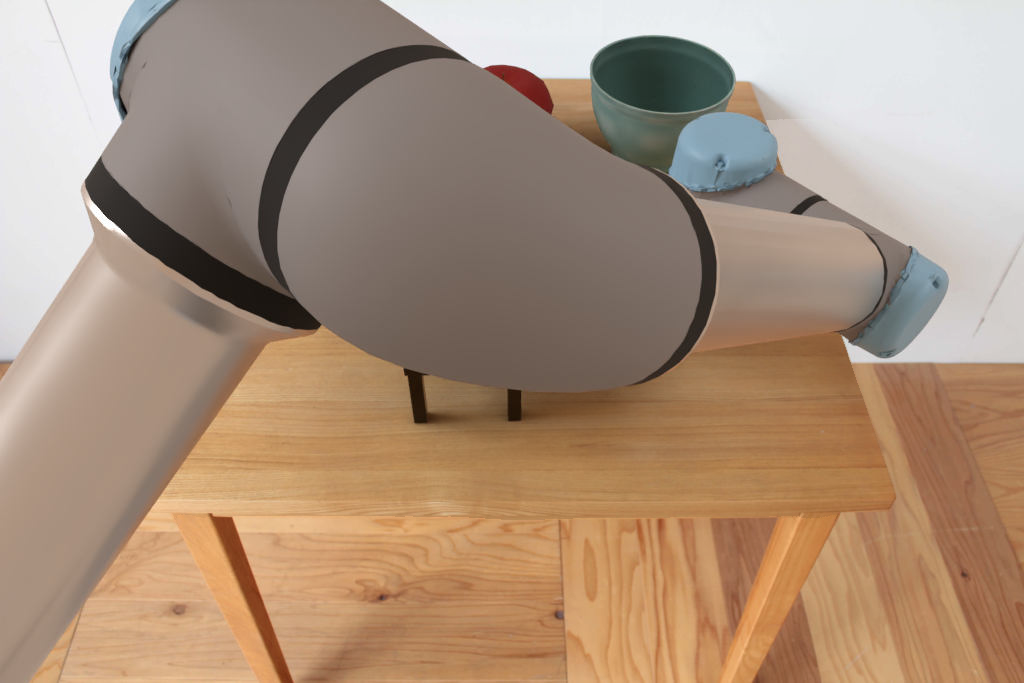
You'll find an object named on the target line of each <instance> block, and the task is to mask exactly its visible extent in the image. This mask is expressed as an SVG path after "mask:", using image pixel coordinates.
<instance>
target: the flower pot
mask: <svg viewBox="0 0 1024 683" xmlns="http://www.w3.org/2000/svg"><path fill="white" fill-rule="evenodd" d="M589 78H590V83H591V84H590V96H591V105H592V110H593V114H594V118H595V121H596V123H597V126H598V128H599V130H600V133H601V134H602V136H603V138H604V139H605V140H606V142H607V143H608V146H610V151H611V152H610V153H611V154H612V155H614V156H617V157H619V158H621V159H623V160H625V161H627V162H632V163H637V164H642V165H646V166H649V167H652V168H655V169H658V170H660V171H662V172H664V173H666V174H669V172H668V171H669V168H670V167H671V166H672V162H673V158H674V154H675V150H676V146H677V142H678V138H679V135H680V133H681V132H682V130H683V129H684V127H685V126H686V125H687V124H688V123H690V122H691V121H693V120H694V119H697V118H699V117H701V116H703V115H705V114H710V113H716V112H727V108H728V105H729V102H730V100H731V98H732V96H733V94H734V91H735V88H736V84H737V77H736V73H735V70H734V68H733V66H732V65H731V63H730V62H728V60H727V59H726V58H725V57H723V56H722V54H720V53H719V52H717V51H716V50H714V49H712V48H711V47H709V46H708V45H705V44H702V43H700V42H696V41H694V40H690V39H686V38H682V37H678V36H671V35H660V34H647V35H646V34H645V35H644V34H641V35H636V36H629V37H625V38H621V39H618V40H615V41H612V42H610V43H608V44H606V45H605V46H603V47H602V48H600V49H599V50H598V51H597V52H596V53H595V54H594V56H593V58H592V59H591V61H590V65H589Z"/></svg>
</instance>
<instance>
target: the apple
mask: <svg viewBox="0 0 1024 683" xmlns="http://www.w3.org/2000/svg"><path fill="white" fill-rule="evenodd" d="M482 68H483V69H485V70H487V71H489V72H490V73H492V74H494V75H495V76H497V77H498V78H500V79H501V80H503V81H505V82H506V83H507V84H509V85H510V86H511V87H513V88H514V89H516V90H517V91H518V92H520V93H521V94H523V95H524V96H525V97H527V98H528V99H529V100H531V101H532V102H534V103H535V104H536V105H538V106H539V107H540V108H542V109H543V110H545V111H546V112H548V113H549V114H551V115H552V116H553V110H554V106H555V105H554V102H553V99H552V97H551V93H550V91H549V89H548V86H547V85H546V83H545V81H544V80H543V79H542V78H540V77H539V76H538V75H536V74H534V72H531V70H528V69H526V68H522V67H520V66H515V65H510V64H509V65H508V64H492V65H487V66H485V67H482Z"/></svg>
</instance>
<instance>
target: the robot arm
mask: <svg viewBox="0 0 1024 683" xmlns="http://www.w3.org/2000/svg"><path fill="white" fill-rule="evenodd" d="M483 68H484V67H481V66H479V65H478V64H476V63H473V62H472V61H470V60H469V59H467V57H465V56H463V55H462V54H461V53H459V52H457V51H456V50H454V49H453V48H452V47H450V46H449V45H447V44H446V43H444V42H443V41H441V40H440V39H438V38H437V37H435V35H432V33H430V32H428V31H426V30H425V29H424V28H422V27H421V26H419V25H418V24H416V23H414V22H413V21H412V20H410V19H409V18H407V17H406V16H404V15H403V14H401V13H400V12H398V11H397V10H396V9H394V8H393V7H391V6H390V5H389V4H386V3H385V2H384V1H382V0H134V1H133V2H132V4H131V5H130V6H129V7H128V9H127V11H126V12H125V14H124V16H123V18H122V20H121V22H120V24H119V27H118V28H117V31H116V34H115V36H114V40H113V44H112V47H111V53H110V60H109V76H110V81H111V82H112V98H113V102H114V104H115V107H116V110H117V112H118V116H119V119H120V122H121V123H120V124H119V126H118V128H117V129H116V131H115V133H114V134H113V136H112V137H111V138H110V140H109V142H108V143H107V145H106V146H105V148H104V150H103V151H102V153H101V154H100V156H99V158H98V159H97V160H96V161H95V164H94V165H93V167H92V168H91V170H90V172H89V173H88V175H87V176H86V178H85V179H84V181H83V182H82V183H81V186H80V193H81V198H82V200H83V204H84V207H85V209H86V213H87V216H88V219H89V222H90V225H91V229H92V232H93V237H92V241H91V243H90V244H89V246H88V247H87V249H86V250H85V252H84V254H83V255H82V256H81V258H80V260H79V261H78V263H77V264H76V266H75V267H74V269H73V270H72V272H71V273H70V275H69V276H68V278H67V279H66V281H65V282H64V284H63V285H62V287H61V289H59V291H58V293H57V295H56V296H55V297H54V298H53V301H52V302H51V303H50V305H49V306H48V308H47V310H46V311H45V313H44V314H43V315H42V317H41V319H40V320H39V322H38V323H37V325H36V326H35V328H34V329H33V331H32V332H31V334H30V335H29V336H28V338H27V339H26V341H25V343H24V344H23V345H22V348H21V349H20V351H19V352H18V354H17V355H16V356H15V358H14V359H13V361H12V363H11V364H10V366H9V367H8V369H7V370H6V372H5V373H4V375H3V376H2V378H1V379H0V683H31V681H32V679H33V678H34V677H35V675H36V674H37V672H38V671H39V669H40V668H41V667H42V665H43V664H44V662H45V661H46V660H47V658H48V657H49V655H50V654H51V652H52V651H53V650H54V648H55V646H56V645H57V644H58V642H59V641H60V640H61V638H62V637H63V635H64V634H65V633H66V631H67V629H68V628H69V627H70V625H71V624H72V622H73V621H74V619H75V618H76V617H77V616H78V614H79V613H80V611H81V610H82V608H83V607H84V605H86V603H87V601H88V600H89V598H90V597H91V595H92V594H93V593H94V592H95V590H96V588H97V587H98V585H99V584H100V583H101V581H102V580H103V578H104V577H105V575H106V574H107V572H108V571H109V570H110V569H111V567H112V565H113V564H114V563H115V561H116V560H117V558H118V557H119V555H120V554H121V553H122V551H123V550H124V548H125V547H126V545H127V544H128V543H129V542H130V540H131V538H133V535H135V532H137V530H138V529H139V527H140V525H141V524H142V522H143V521H144V520H145V518H146V517H147V515H148V514H149V513H150V511H151V510H152V508H153V507H154V506H155V504H156V502H157V501H158V500H159V498H160V497H161V496H162V495H163V493H164V491H165V490H166V489H167V487H168V486H169V484H170V483H171V482H172V480H173V479H174V477H175V476H176V474H177V473H178V471H179V470H180V469H181V467H182V466H183V464H184V463H185V462H186V460H187V458H188V457H189V455H191V453H192V451H193V450H194V449H195V448H196V446H197V444H198V443H199V441H200V440H201V439H202V438H203V435H204V434H205V433H206V432H207V430H208V428H209V427H210V426H211V424H212V423H213V422H214V420H215V419H216V417H217V416H218V415H219V413H220V412H221V410H222V409H223V407H224V406H225V405H226V403H227V402H228V401H229V399H230V398H231V396H232V395H233V393H234V392H235V390H236V389H237V387H238V386H239V385H240V383H241V382H242V380H243V378H245V376H246V375H247V373H248V372H249V371H250V369H251V368H252V366H253V365H254V363H255V362H256V360H257V359H258V358H259V356H260V355H261V353H262V352H263V351H264V349H265V347H266V346H267V345H268V344H271V343H274V342H280V341H286V340H292V339H297V338H303V337H308V336H309V337H310V336H312V335H314V334H316V333H317V332H318V331H319V329H320V328H321V327H322V326H323V327H324V328H326V329H327V330H328V331H330V332H331V333H333V334H334V335H336V336H337V337H339V338H340V339H342V340H343V341H345V342H347V343H349V344H351V345H352V346H354V347H355V348H358V349H359V350H361V351H363V352H364V353H366V354H367V355H370V356H372V357H375V358H376V359H377V358H378V359H380V360H383V361H385V362H388V363H390V364H393V365H396V366H398V367H400V368H406V369H409V370H413V371H417V372H420V373H424V374H428V375H427V376H432V377H435V378H440V379H443V380H446V381H453V382H458V383H464V384H468V385H469V384H470V385H475V386H480V387H489V388H497V389H506V390H507V389H515V390H522V392H523V391H525V392H533V393H587V392H597V391H609V390H615V389H619V388H624V387H630V386H631V387H632V386H636V385H641V384H644V383H645V384H646V383H649V382H651V381H653V380H656V379H659V378H661V377H663V376H665V375H667V374H668V373H669V372H671V371H673V370H674V369H676V368H677V367H678V366H680V365H681V363H683V362H684V361H685V360H687V358H688V357H689V356H690V355H691V354H692V353H699V352H706V351H714V350H720V349H727V348H733V347H734V348H735V347H739V346H747V345H754V344H760V343H767V342H768V343H769V342H776V341H782V340H788V339H795V338H800V337H801V338H803V337H810V336H814V335H815V336H816V335H821V334H830V333H837V334H839V335H840V336H842V337H843V338H845V339H846V340H847V341H848V342H847V343H848V344H850V345H852V346H853V347H854V346H855V347H858V348H860V349H862V350H863V351H865V352H867V353H869V354H871V355H873V357H876V358H879V359H891V358H893V357H896V356H897V355H899V354H900V353H902V352H903V351H905V349H907V347H908V346H909V345H910V344H912V343H913V341H914V340H916V339H917V337H918V336H919V335H920V334H921V333H922V331H923V330H924V329H925V328H926V326H927V325H928V324H929V323H930V321H931V319H932V318H933V316H934V315H935V314H936V312H937V311H938V309H939V308H940V306H941V304H942V302H943V300H944V299H945V297H946V294H947V292H948V290H949V285H950V279H949V275H948V272H947V271H946V270H945V268H943V267H942V266H940V265H939V264H938V263H936V262H934V261H933V260H930V259H929V258H928V257H927V256H925V255H923V254H921V253H920V252H919V250H918V249H917V248H916V247H914V246H912V245H906V244H904V243H903V242H901V241H899V240H898V239H896V238H894V237H893V236H890V235H889V234H887V233H886V232H883V231H882V230H880V229H878V228H876V227H875V226H873V225H871V224H869V223H868V222H866V221H864V220H862V219H860V218H858V217H857V216H855V215H853V214H851V213H850V212H848V211H846V210H844V209H842V208H841V207H839V206H837V205H835V204H833V203H832V202H830V201H829V200H828V199H827V198H825V197H823V196H821V195H820V194H819V193H816V192H815V191H814V190H811V189H810V188H808V187H806V186H805V185H803V184H801V183H800V182H798V181H796V180H794V179H793V178H791V177H789V176H787V175H785V174H784V173H782V172H780V171H779V170H777V169H776V168H777V165H778V152H779V151H778V150H779V145H778V140H777V137H776V135H775V134H773V133H771V131H770V129H769V127H768V125H767V124H766V123H763V122H762V121H761V120H759V119H757V118H755V117H752V116H750V115H748V114H743V113H741V112H731V111H725V112H716V113H710V114H705V115H703V116H701V117H699V118H697V119H694V120H693V121H691V122H690V123H688V124H687V125H686V126H685V127H684V129H683V130H682V132H681V133H680V135H679V138H678V142H677V146H676V150H675V154H674V158H673V162H672V166H671V167H670V168H669V171H668V172H669V173H664V172H662V171H660V170H658V169H655V168H652V167H649V166H646V165H642V164H637V163H632V162H627V161H625V160H623V159H621V158H619V157H617V156H614V155H613V154H612V152H609V151H607V149H604V148H602V147H601V146H598V145H597V144H595V143H593V142H592V141H590V140H589V139H587V138H586V137H585V136H583V135H582V134H580V133H579V132H577V131H576V130H574V129H572V127H570V126H568V125H566V124H565V123H564V122H562V121H561V120H559V119H558V118H557V117H555V116H554V115H553V114H552V115H551V114H549V113H548V112H546V111H545V110H543V109H542V108H540V107H539V106H538V105H536V104H535V103H534V102H532V101H531V100H529V99H528V98H527V97H525V96H524V95H523V94H521V93H520V92H518V91H517V90H516V89H514V88H513V87H511V86H510V85H509V84H507V83H506V82H505V81H503V80H501V79H500V78H498V77H497V76H495V75H494V74H492V73H490V72H489V71H487V70H485V69H483Z"/></svg>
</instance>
